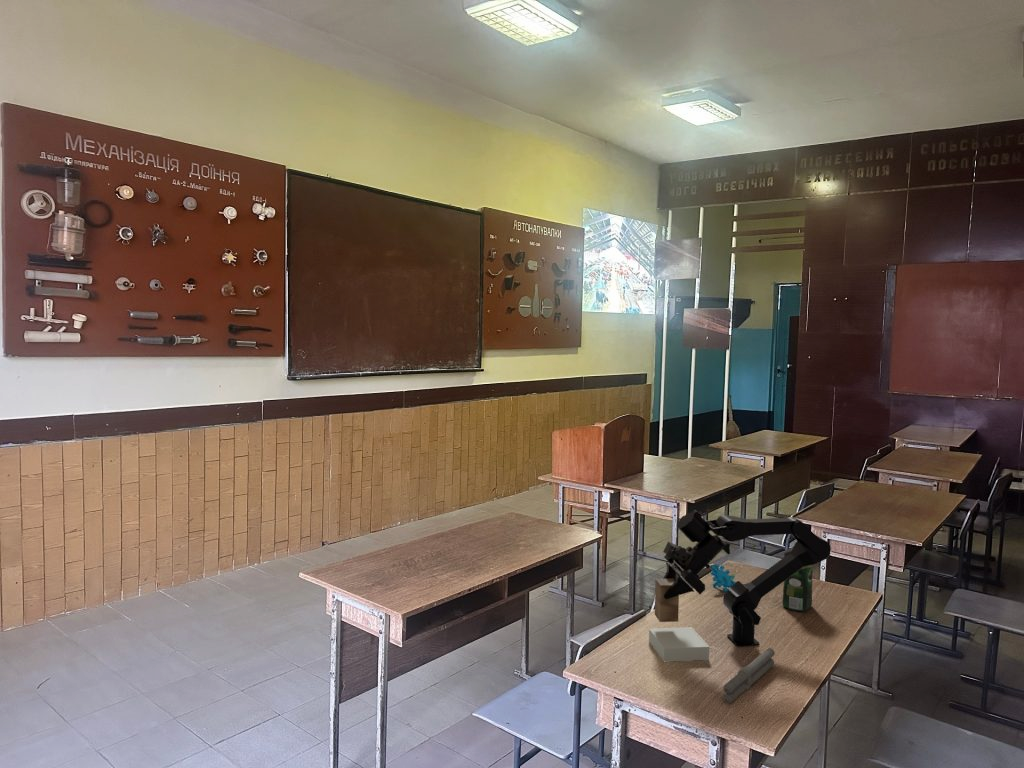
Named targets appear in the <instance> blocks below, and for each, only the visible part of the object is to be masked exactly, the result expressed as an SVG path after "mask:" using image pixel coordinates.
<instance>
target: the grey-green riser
mask: <svg viewBox="0 0 1024 768" xmlns="http://www.w3.org/2000/svg"><path fill="white" fill-rule="evenodd" d="M648 642H649V644H650V646H651V647H652V646H653V647H652V648H653V649H654V651H655V650H656V651H657V652H656V651H655V652H656V654H657V653H658V654H659V655H658V654H657V655H658V656H659V658H660V657H661V658H662V659H663V660H662V659H661V658H660V659H661V660H662V662H663V661H682V662H694V661H693V660H704V661H710V645H708V643H707V642H706V641H705V640H704V639H703V638H702V637H701V636H700V634H699V633H697V631H696V630H695V629H694V628H693V627H691V626H689V627H687V626H685V627H666V628H665V627H663V628H660V627H659V628H649V629H648Z"/></svg>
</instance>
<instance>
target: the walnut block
mask: <svg viewBox="0 0 1024 768" xmlns="http://www.w3.org/2000/svg"><path fill="white" fill-rule="evenodd" d="M654 582H655V585H654V616H655V617H656V618H657V620H658V621H659V622H660V623H671V622H672V623H673V622H674V623H675V622H676V623H677V622H679V611H680V610H679V607H680V606H679V603H680V598H679V597H680V595H678V596H675V597H672V598H669V599H665V598H664V595H665V593H666V592H667V591H668V589H669V588H670V587H671V586H672V584H673V583H674V582H675V580H674V579H663V578H655V581H654Z"/></svg>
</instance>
